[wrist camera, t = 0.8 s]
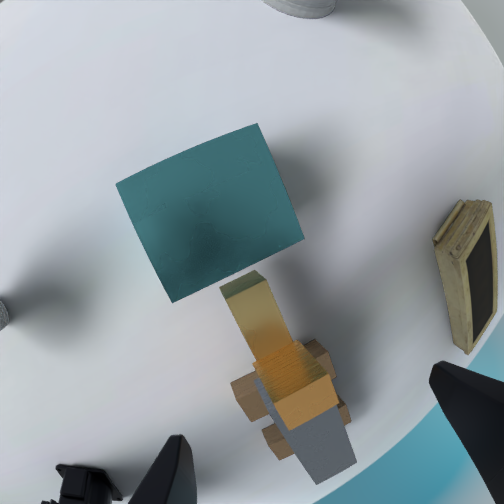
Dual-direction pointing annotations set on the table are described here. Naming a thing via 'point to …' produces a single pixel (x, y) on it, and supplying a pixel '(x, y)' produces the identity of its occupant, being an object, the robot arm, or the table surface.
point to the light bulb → (3, 316)
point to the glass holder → (303, 7)
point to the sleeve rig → (232, 261)
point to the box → (468, 270)
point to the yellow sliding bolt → (278, 353)
